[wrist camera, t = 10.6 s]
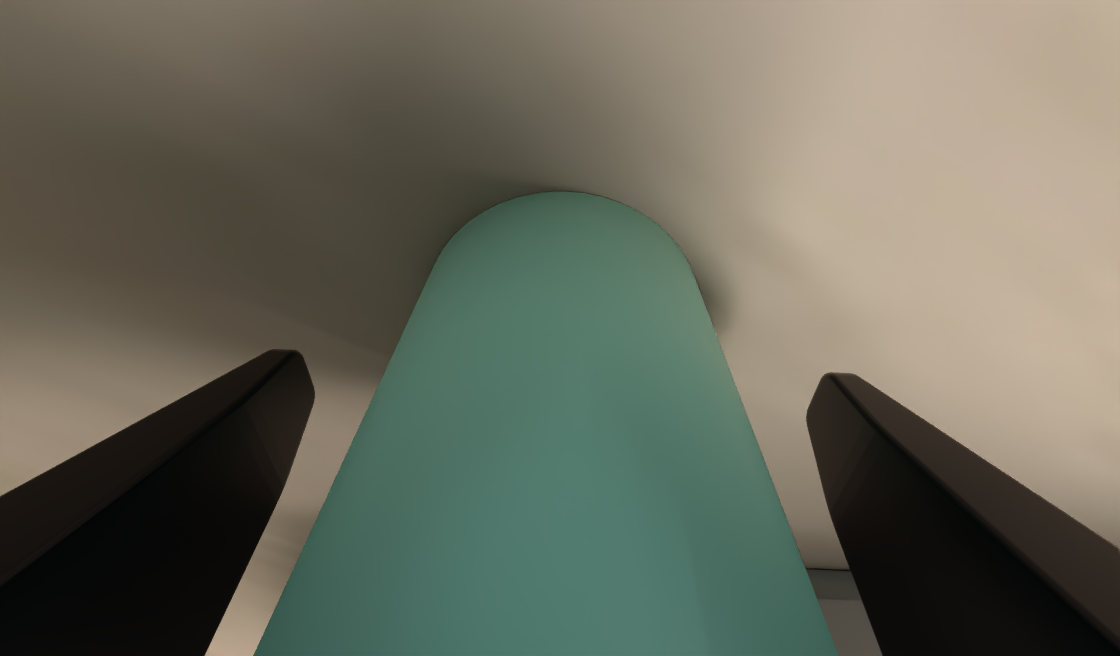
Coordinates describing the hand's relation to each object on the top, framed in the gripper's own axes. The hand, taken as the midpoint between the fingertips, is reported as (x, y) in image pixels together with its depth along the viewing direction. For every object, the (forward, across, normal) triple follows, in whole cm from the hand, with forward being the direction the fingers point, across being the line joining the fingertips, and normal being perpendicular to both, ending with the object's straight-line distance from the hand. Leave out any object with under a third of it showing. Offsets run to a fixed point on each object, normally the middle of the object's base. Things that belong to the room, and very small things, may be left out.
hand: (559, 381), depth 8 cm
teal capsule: (+2, 0, 0) cm, 2 cm away
